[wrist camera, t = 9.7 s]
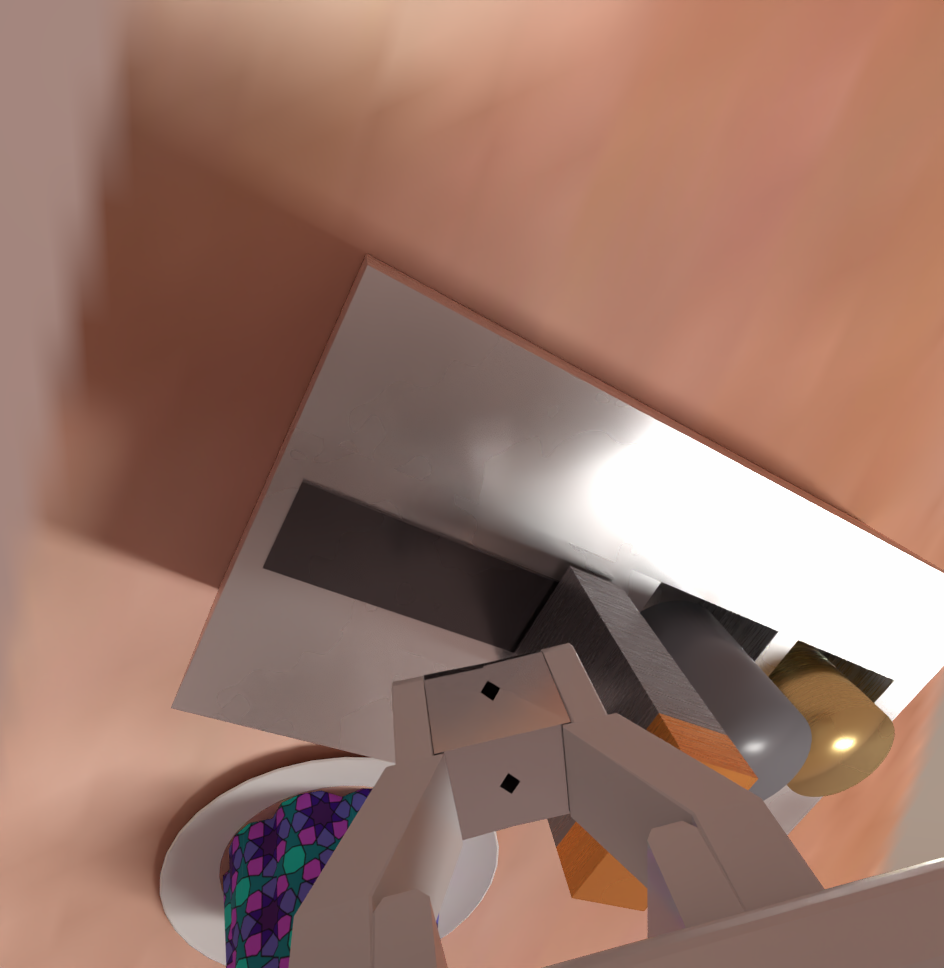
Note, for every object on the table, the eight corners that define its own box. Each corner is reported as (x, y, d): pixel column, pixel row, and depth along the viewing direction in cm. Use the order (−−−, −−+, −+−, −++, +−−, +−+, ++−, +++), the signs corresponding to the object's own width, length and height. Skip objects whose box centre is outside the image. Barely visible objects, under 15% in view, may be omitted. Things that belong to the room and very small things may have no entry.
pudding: (314, 993, 25) (302, 1170, 21) (87, 864, 20) (2, 1059, 16) (549, 854, 24) (594, 1007, 19) (371, 681, 19) (373, 831, 14)
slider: (553, 687, 14) (643, 910, 9) (501, 671, 13) (571, 897, 9) (621, 586, 13) (758, 778, 9) (569, 565, 13) (685, 756, 8)
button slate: (675, 706, 16) (751, 824, 13) (586, 677, 15) (645, 796, 12) (741, 621, 15) (840, 725, 12) (651, 584, 14) (733, 686, 11)
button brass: (760, 709, 19) (840, 806, 16) (690, 684, 18) (760, 782, 15) (820, 637, 18) (917, 725, 15) (749, 607, 17) (837, 693, 14)
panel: (695, 740, 22) (770, 858, 18) (218, 590, 17) (169, 711, 12) (868, 525, 20) (1003, 606, 15) (366, 253, 14) (368, 265, 10)
